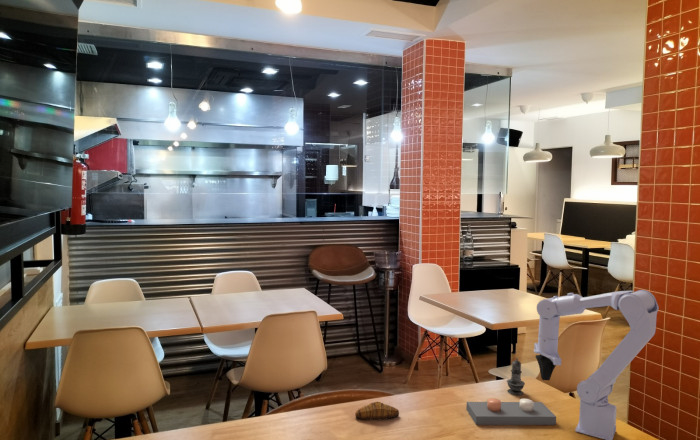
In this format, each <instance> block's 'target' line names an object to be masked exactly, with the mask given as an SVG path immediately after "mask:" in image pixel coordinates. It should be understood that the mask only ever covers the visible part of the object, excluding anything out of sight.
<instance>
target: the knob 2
mask: <svg viewBox="0 0 700 440" xmlns="http://www.w3.org/2000/svg"><path fill="white" fill-rule="evenodd" d="M519 402H520V405H519V408H520V410H522V411H525V412H532V411H533V405H534V402H535V401H533V400H531V399H530V398H520V399H519Z"/></svg>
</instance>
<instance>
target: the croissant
mask: <svg viewBox="0 0 700 440" xmlns="http://www.w3.org/2000/svg"><path fill="white" fill-rule="evenodd" d="M354 416H355V418H356V419H360V420H367V419H368V420H371V419H373V421H380V420H379V419H381V420H386V418H387V419H392V417H393V418H395V417H398V416H400V411H399V409H398V408H396V407H394V406H391V405H389V404H385V403H383V402H381V401H374V402H370V403H369V404H367V405H364V406H362V407H361V408H358V410H356V411H355V415H354Z"/></svg>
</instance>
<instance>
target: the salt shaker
mask: <svg viewBox="0 0 700 440" xmlns="http://www.w3.org/2000/svg"><path fill="white" fill-rule="evenodd" d="M510 372H511V377H510V378H509V379H507V380H506V383H507V387H509V389H507V390H506V392H507V393H508V394H510V395H513V396H523V395H524V392H523V391H522V390H523V389H524V387H525V385H526V384H525V382H524V381H523V380H522V377H521V375H522V373H523V372H522V363H521V362H520V361H519V358H515V360H513V361H512V365H511V369H510Z"/></svg>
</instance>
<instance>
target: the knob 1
mask: <svg viewBox="0 0 700 440" xmlns="http://www.w3.org/2000/svg"><path fill="white" fill-rule="evenodd" d="M486 402H487V409H488V410H490V411H493V412H499V411H501V402H502V401H501V400H500V399H498V398H493V397H492V398H488V399H487V401H486Z"/></svg>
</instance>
